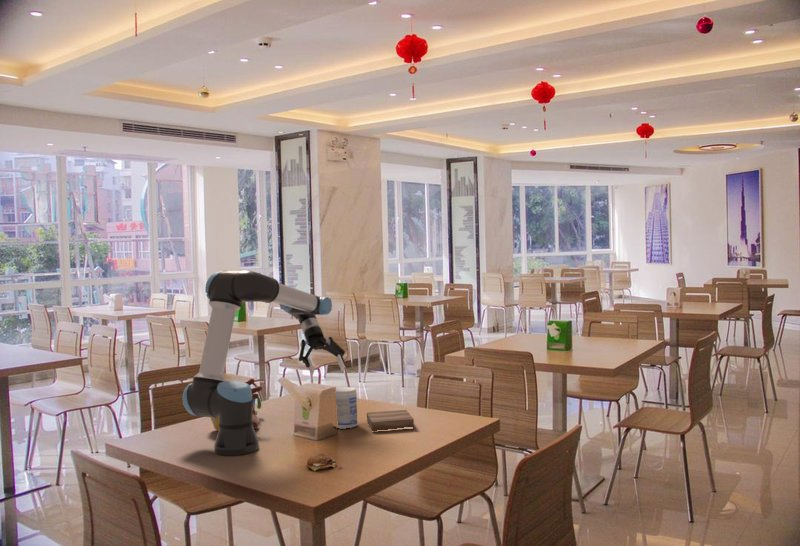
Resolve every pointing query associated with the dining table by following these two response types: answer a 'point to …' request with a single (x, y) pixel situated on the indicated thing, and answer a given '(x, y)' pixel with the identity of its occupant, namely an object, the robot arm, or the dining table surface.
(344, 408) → the supplement tub
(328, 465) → the hamburger
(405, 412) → the walnut stand
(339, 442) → the dining table surface
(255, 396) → the bucket of meat
